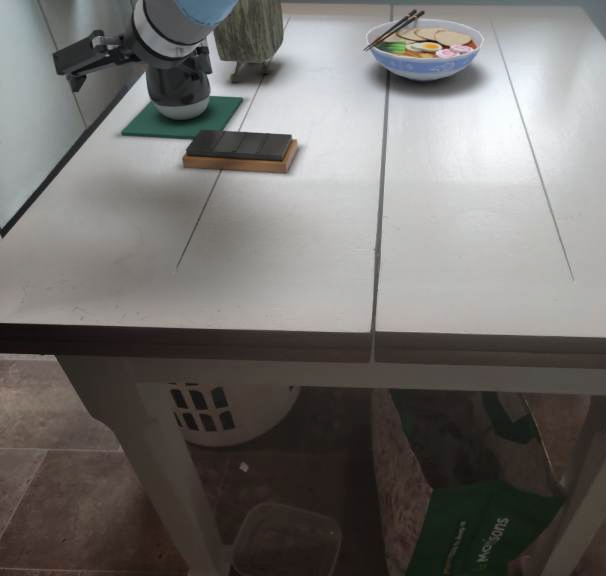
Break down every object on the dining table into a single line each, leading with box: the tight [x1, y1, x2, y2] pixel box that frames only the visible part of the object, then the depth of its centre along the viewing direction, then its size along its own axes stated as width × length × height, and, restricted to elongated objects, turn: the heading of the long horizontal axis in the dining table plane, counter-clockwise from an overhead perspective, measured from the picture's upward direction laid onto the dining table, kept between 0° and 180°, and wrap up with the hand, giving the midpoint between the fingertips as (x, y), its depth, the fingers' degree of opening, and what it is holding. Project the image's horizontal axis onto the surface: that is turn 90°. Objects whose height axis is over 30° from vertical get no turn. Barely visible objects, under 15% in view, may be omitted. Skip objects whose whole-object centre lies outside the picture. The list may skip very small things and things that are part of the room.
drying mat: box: [120, 95, 244, 140], centre depth 106 cm, size 16×16×1 cm
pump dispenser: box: [144, 52, 212, 120], centre depth 101 cm, size 10×10×15 cm
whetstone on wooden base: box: [181, 130, 299, 174], centre depth 95 cm, size 16×8×3 cm, turn 84°
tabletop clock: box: [212, 0, 285, 83], centre depth 114 cm, size 14×9×25 cm, turn 171°
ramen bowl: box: [362, 9, 485, 83], centre depth 119 cm, size 25×23×8 cm
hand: (124, 81), depth 88 cm, fingers open, 13 cm apart
